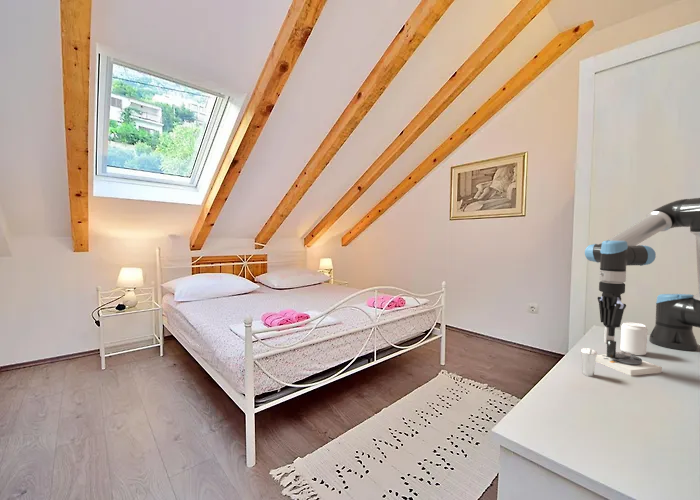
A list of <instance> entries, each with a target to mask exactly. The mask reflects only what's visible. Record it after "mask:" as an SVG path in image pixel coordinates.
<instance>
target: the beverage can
mask: <svg viewBox="0 0 700 500" xmlns="http://www.w3.org/2000/svg"><path fill="white" fill-rule="evenodd" d="M620 327H621V328H620V347H619V348H620V349H619V350H621V351H627V352H630V353H631V355H633V356H644V355H647V343H648V342H647V341H648V328H647V326H646V325H645V324H643V323H638V322H632V321H623V323H622V324H620Z"/></svg>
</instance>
